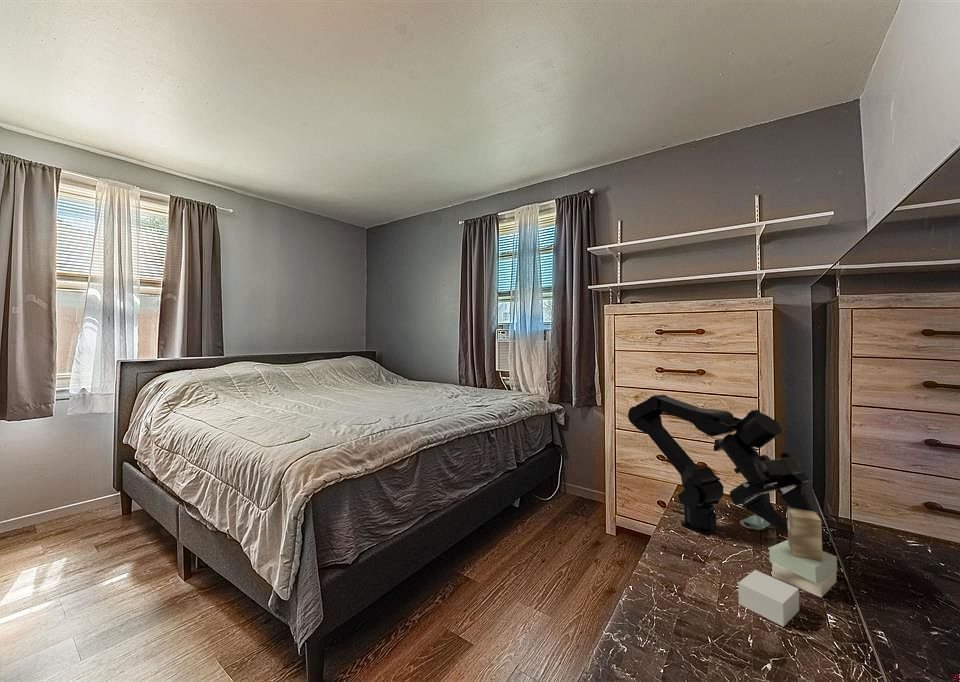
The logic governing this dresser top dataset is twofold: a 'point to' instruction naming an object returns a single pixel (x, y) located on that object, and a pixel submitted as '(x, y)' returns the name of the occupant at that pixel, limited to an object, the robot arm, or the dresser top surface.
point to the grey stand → (769, 597)
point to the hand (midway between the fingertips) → (800, 526)
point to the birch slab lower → (804, 581)
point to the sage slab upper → (803, 563)
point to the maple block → (804, 533)
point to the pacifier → (754, 522)
